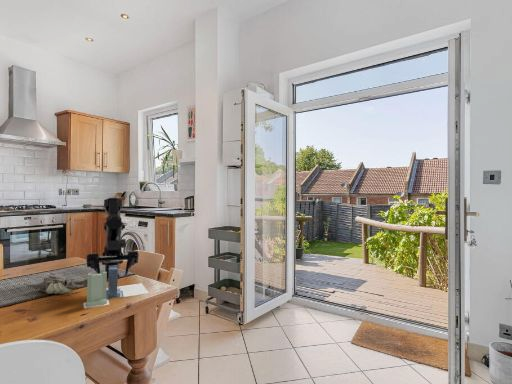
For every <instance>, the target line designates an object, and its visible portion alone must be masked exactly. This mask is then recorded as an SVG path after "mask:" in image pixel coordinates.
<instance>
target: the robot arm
mask: <svg viewBox="0 0 512 384" xmlns="http://www.w3.org/2000/svg"><path fill="white" fill-rule="evenodd" d="M103 208H104V210H105V213H106V215H107V217H106V218H105V222H103V224H104V225H103V230H104V231H105V234H106V236H105V239H106V240H105V246H104V251H102V255H101V256H100V255H99V253H98V252H97V253H96V252H94V253H92V252H91V253H88V254H87V255H86V267H88V268H90V269H93V270H94V271H95V274H101V268H100V262H101V263H102V266H104V267H105V269H104V272H107V279H109V266H112V265H118V267H117V268H118V269H119V264H123V262H124V261H126V267H125V278H126V277H128V273H129V271H130V269H131V267H132V266H134V265H135V264H138V263H139V262H138V261H139V251H137V250H130V251H127V254H124V253H123V251H122V248H123V249H125V248H126V246H127V245H126V244H127V243H126V242H127V241H126V238H122V232H123V231H124V229H125V228H126V225H125V224H124V222H123V221H122V217H121V216H120V215H119V214H120V213H121V210H122V208H123V199H120V198H118V197H108V198H105V199H104V200H103ZM119 276H120V274H119V273H118V278H119Z"/></svg>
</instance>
